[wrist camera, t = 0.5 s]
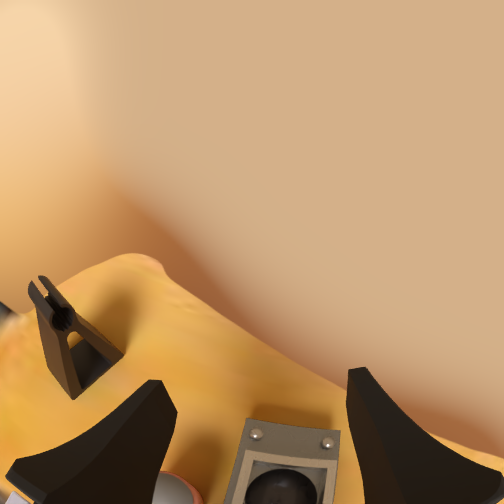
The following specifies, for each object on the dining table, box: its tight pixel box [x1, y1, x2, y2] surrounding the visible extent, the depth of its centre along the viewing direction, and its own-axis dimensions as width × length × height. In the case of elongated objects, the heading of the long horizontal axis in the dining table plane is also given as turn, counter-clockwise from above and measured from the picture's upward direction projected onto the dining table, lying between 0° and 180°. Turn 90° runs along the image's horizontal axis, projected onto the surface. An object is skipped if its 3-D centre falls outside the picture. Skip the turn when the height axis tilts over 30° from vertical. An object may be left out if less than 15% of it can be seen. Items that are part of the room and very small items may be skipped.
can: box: [152, 471, 203, 504], centre depth 14 cm, size 5×5×7 cm
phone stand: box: [28, 276, 124, 400], centre depth 24 cm, size 9×6×12 cm, turn 149°
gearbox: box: [224, 418, 340, 504], centre depth 17 cm, size 12×9×4 cm
